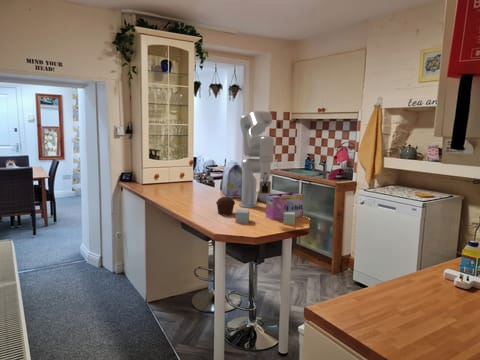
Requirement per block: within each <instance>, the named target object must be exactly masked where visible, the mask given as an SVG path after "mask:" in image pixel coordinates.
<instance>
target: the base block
mask: <svg viewBox="0 0 480 360" xmlns="http://www.w3.org/2000/svg"><path fill="white" fill-rule="evenodd" d="M234 221H235V223H236V224H249V222H248V221H250V209H236V211H235V220H234Z"/></svg>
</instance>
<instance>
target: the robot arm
mask: <svg viewBox="0 0 480 360" xmlns="http://www.w3.org/2000/svg"><path fill="white" fill-rule="evenodd" d="M272 123H273V116H272V113H271V112H270V111H264V110H263V111H262V110H261V111H260V110H259V111H258V110H256V111H255V110H253V111H251V112H250V113H249V114H245V115H242V116H241V117H240V119H239V125H240V129H241V132H242V137H243V141H242V142H243V147H242V149H243V155H244V156H245V157H249V158H245V159H243V160H242V161H241V165H240V166H241V168H242V198H241V202H240V203H239V204H238V206H239V207H242V208H247V209H250V208H251V209H253V208H257V207H259V205H258V204H259V203H257V178H256V176H255V175H254V174H259V175H260V176H259V180H260V181H263V185H264V186H263V185H262V193H268V181H270V176H271V166H272V164H271V163H274V152H275V151H274V147H275V139H274V137H272V136H270V135H262V134H263V133H264V132H265V131H266V129H267V128H268V127H269V126H271V124H272ZM252 157H253V158H252ZM266 185H267V186H266ZM262 193H261V194H262Z"/></svg>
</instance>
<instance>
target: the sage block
mask: <svg viewBox="0 0 480 360" xmlns="http://www.w3.org/2000/svg"><path fill="white" fill-rule="evenodd" d="M282 220H283V221H282V223H283V225H285V226H286V225H287V226H295V222H296V221H295V220H296V217H295V212H286V211H284V219H282Z"/></svg>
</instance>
